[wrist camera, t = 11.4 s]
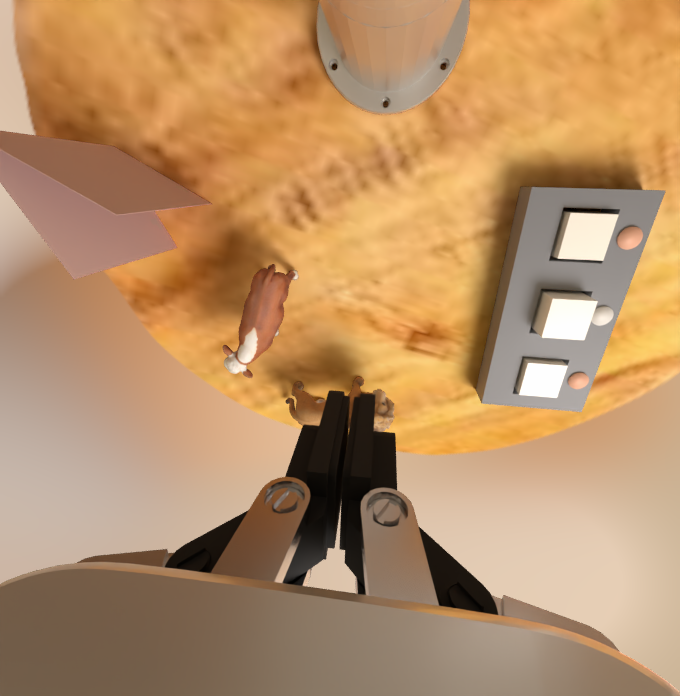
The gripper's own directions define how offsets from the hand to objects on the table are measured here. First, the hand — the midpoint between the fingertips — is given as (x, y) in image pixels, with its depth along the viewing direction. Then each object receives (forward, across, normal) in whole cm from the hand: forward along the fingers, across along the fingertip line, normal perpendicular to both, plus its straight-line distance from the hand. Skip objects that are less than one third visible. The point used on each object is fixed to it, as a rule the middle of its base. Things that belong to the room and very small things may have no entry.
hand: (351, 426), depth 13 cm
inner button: (+29, -19, -4) cm, 35 cm away
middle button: (+28, -19, +4) cm, 34 cm away
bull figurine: (+29, +12, +6) cm, 32 cm away
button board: (+29, -19, +4) cm, 35 cm away
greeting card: (+29, +23, -7) cm, 38 cm away
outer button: (+29, -19, +11) cm, 36 cm away
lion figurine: (+29, +3, +16) cm, 34 cm away
